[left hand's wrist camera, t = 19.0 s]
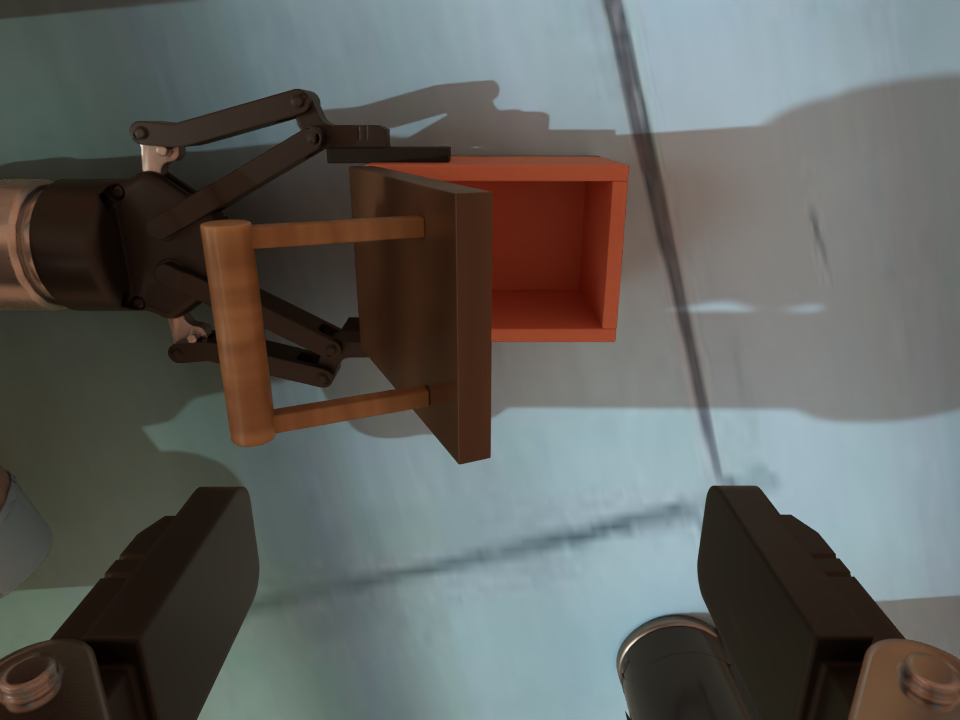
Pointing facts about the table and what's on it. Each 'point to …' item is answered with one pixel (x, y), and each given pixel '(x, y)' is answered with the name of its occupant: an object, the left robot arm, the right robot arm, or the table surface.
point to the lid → (374, 309)
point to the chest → (548, 241)
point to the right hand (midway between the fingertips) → (450, 246)
